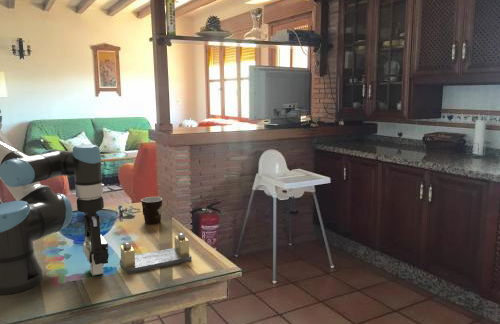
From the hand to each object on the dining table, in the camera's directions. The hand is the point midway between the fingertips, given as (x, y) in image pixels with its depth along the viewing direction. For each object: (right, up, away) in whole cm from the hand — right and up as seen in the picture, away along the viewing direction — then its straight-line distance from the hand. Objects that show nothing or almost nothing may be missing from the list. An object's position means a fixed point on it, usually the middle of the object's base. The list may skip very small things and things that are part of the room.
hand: (94, 266), depth 132 cm
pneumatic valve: (0, -2, 0) cm, 2 cm away
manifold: (+17, -1, +9) cm, 19 cm away
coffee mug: (+6, +6, +48) cm, 49 cm away
